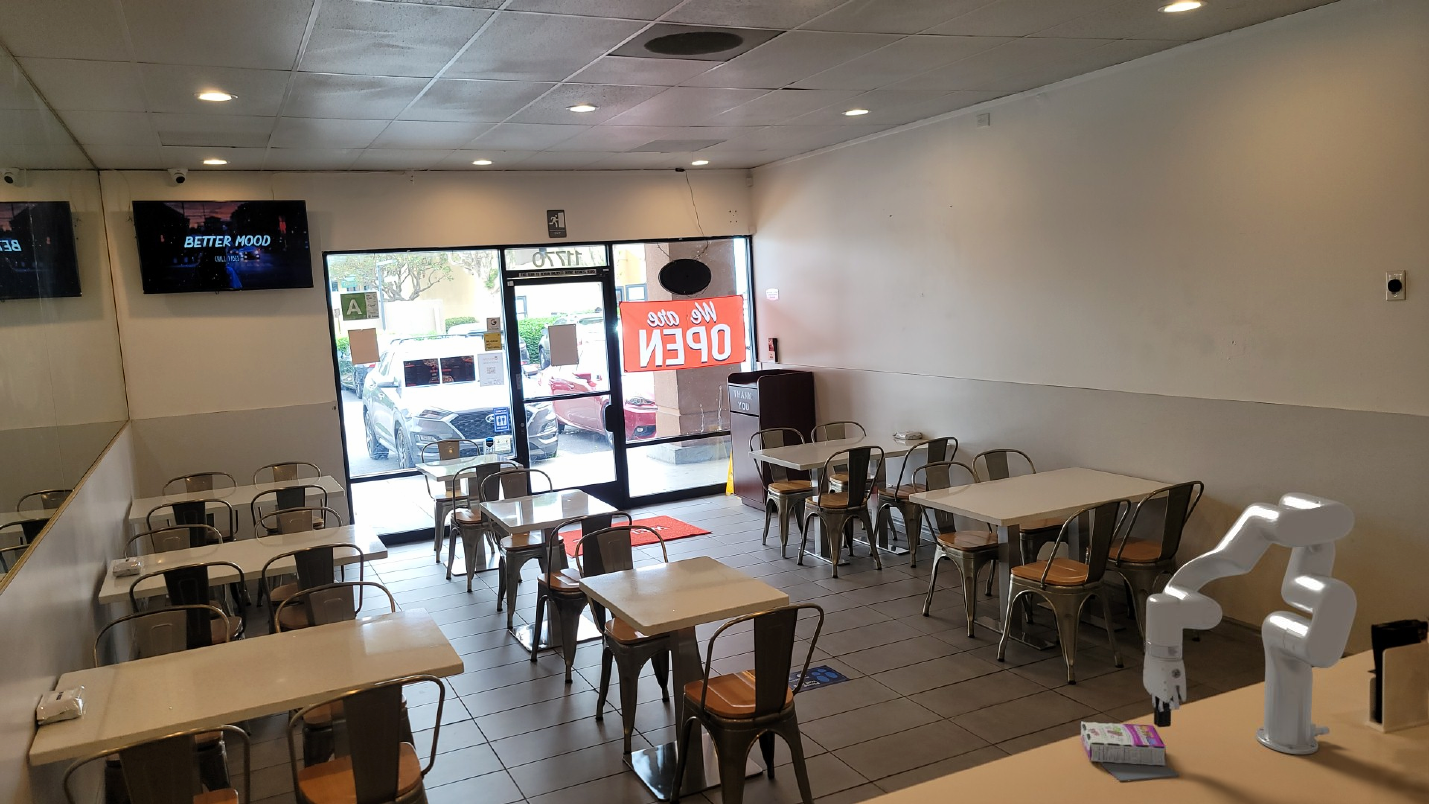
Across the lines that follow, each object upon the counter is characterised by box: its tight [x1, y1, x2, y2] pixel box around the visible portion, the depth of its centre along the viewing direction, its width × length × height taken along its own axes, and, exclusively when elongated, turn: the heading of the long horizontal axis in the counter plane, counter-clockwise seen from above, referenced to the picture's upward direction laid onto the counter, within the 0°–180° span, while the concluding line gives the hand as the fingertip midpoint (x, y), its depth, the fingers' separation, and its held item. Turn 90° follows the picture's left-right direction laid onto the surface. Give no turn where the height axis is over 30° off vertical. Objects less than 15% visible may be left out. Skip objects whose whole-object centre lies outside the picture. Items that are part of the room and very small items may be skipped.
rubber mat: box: [1098, 762, 1180, 783], centre depth 210 cm, size 14×14×1 cm
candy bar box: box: [1080, 721, 1167, 766], centre depth 214 cm, size 11×5×16 cm
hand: (1162, 725), depth 211 cm, fingers closed
